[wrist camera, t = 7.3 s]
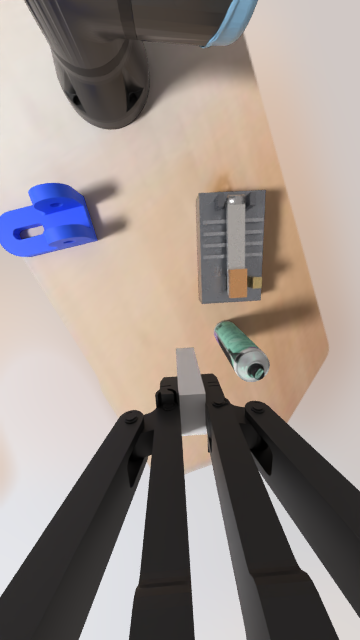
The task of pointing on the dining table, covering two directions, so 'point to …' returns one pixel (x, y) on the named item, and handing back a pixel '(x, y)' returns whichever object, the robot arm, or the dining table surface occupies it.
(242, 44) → the dining table surface
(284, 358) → the dining table surface
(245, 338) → the spray can
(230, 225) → the bar
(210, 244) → the finned block
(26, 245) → the bracket
